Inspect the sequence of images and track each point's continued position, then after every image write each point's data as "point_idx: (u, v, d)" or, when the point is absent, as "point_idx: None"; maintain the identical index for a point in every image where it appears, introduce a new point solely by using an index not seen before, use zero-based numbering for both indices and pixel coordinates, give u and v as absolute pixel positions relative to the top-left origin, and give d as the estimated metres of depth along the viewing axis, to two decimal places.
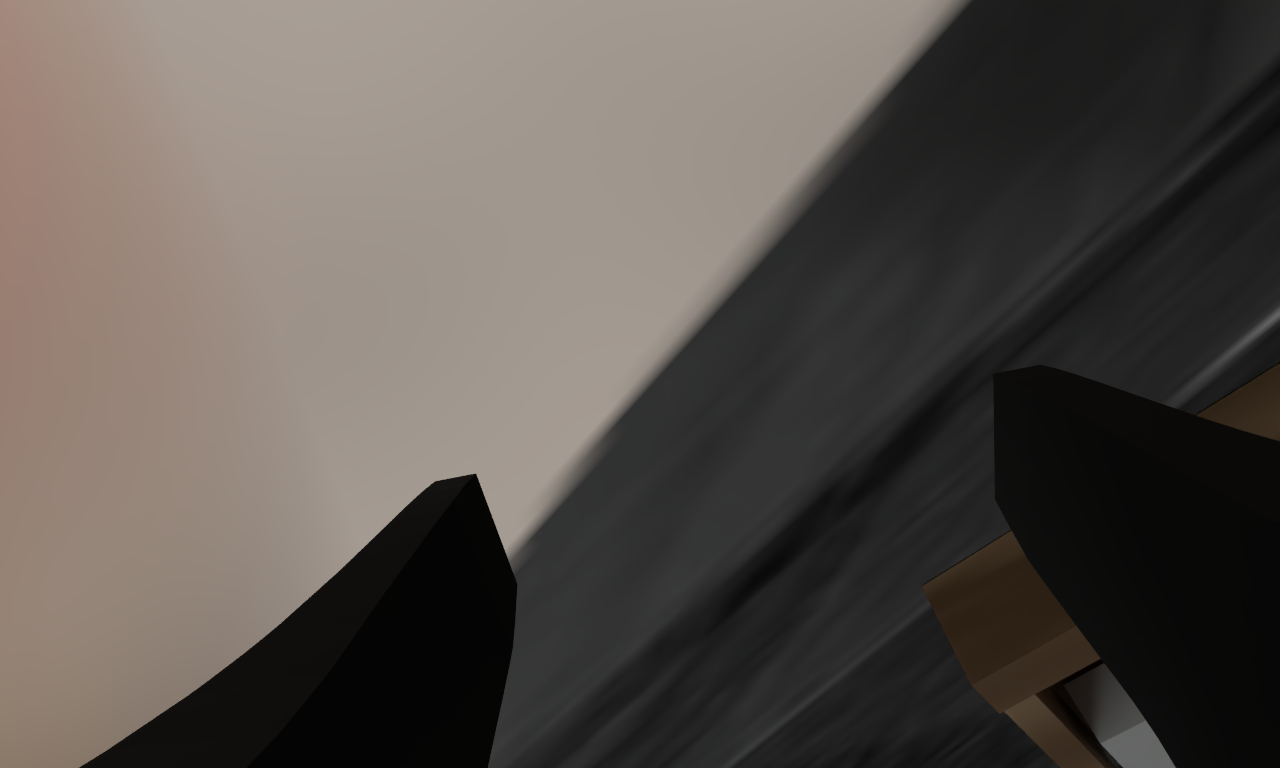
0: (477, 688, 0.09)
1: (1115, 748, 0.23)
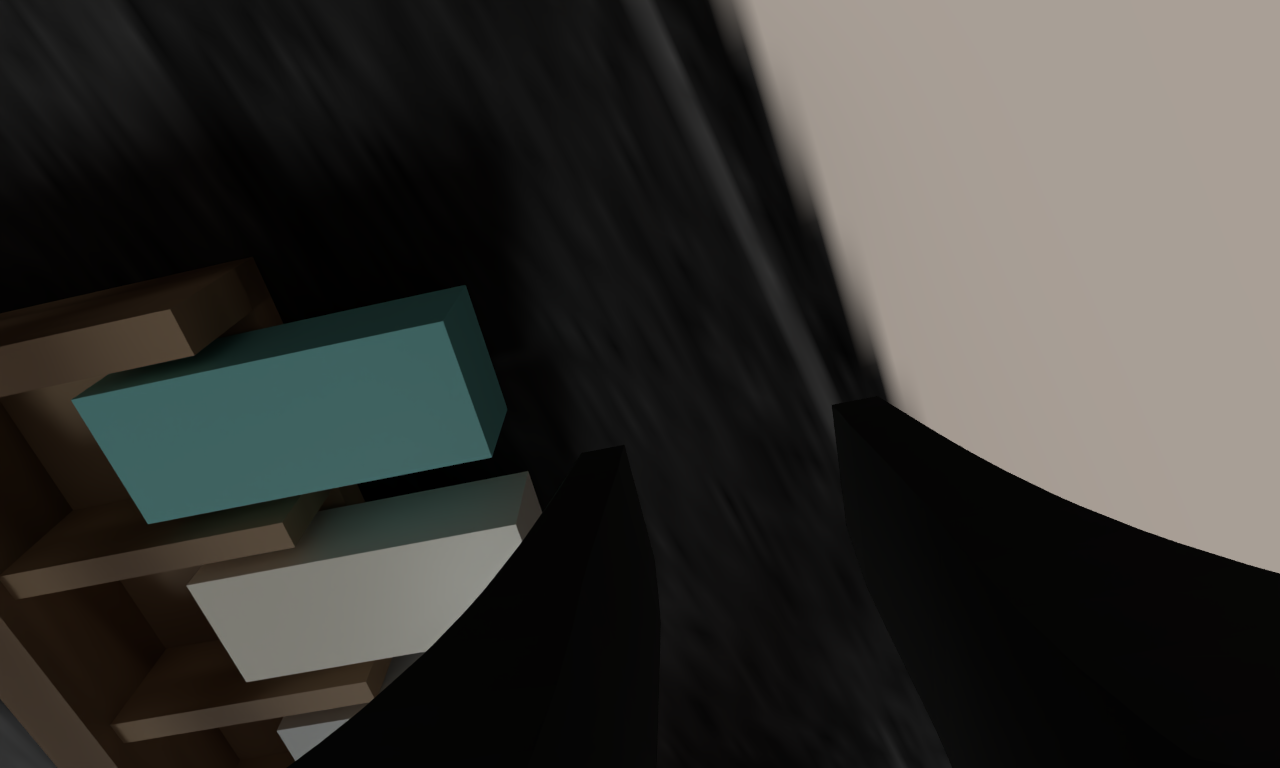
0: (645, 660, 0.09)
1: None
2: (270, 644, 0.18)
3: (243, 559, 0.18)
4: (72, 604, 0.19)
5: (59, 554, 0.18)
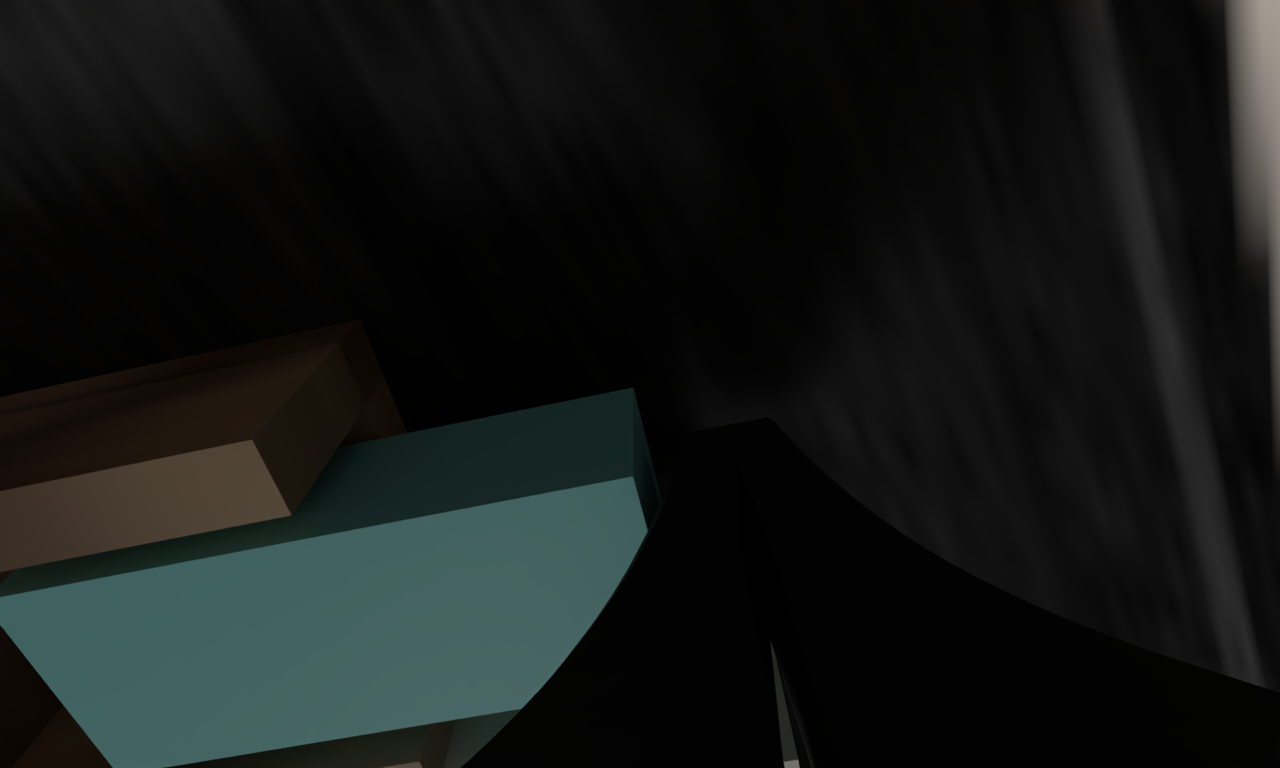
0: (766, 640, 0.09)
1: None
2: None
3: None
4: None
5: None
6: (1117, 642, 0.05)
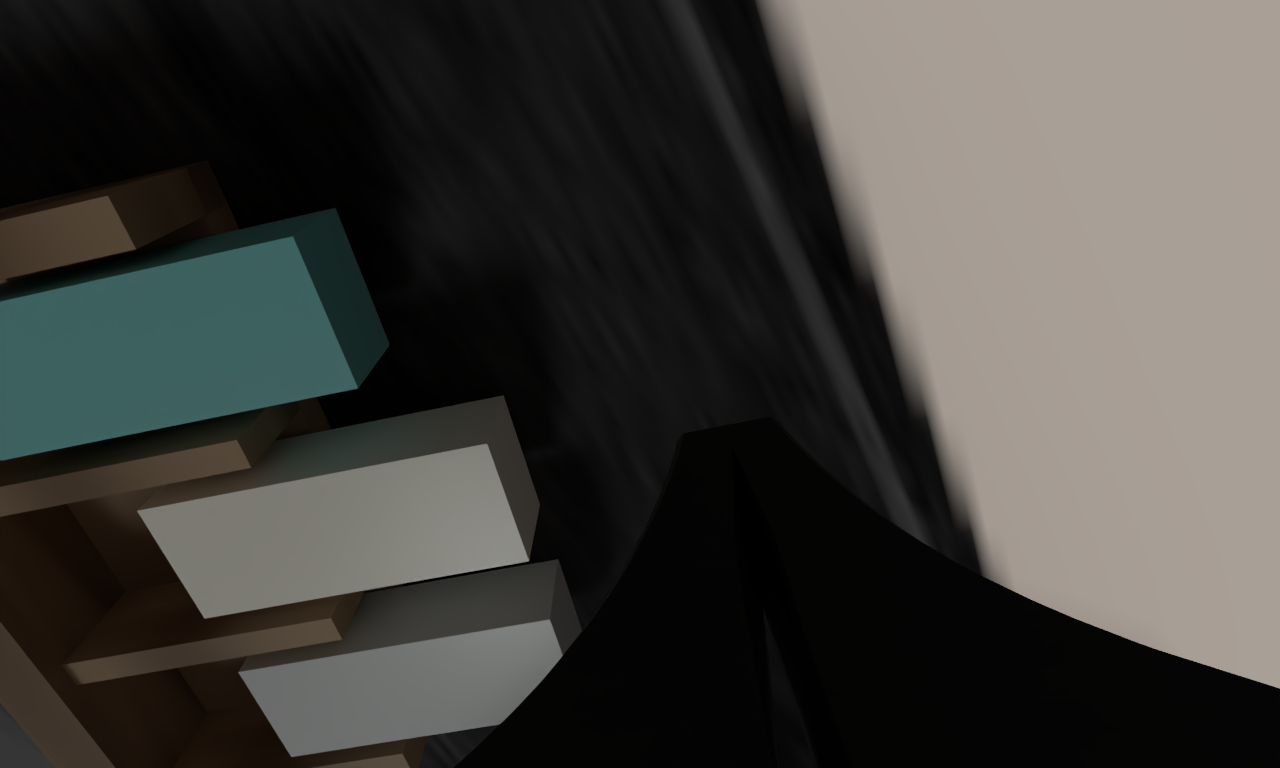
0: (762, 640, 0.09)
1: (305, 748, 0.20)
2: (228, 576, 0.17)
3: (199, 485, 0.17)
4: (20, 536, 0.18)
5: (1, 477, 0.17)
6: (1123, 640, 0.05)
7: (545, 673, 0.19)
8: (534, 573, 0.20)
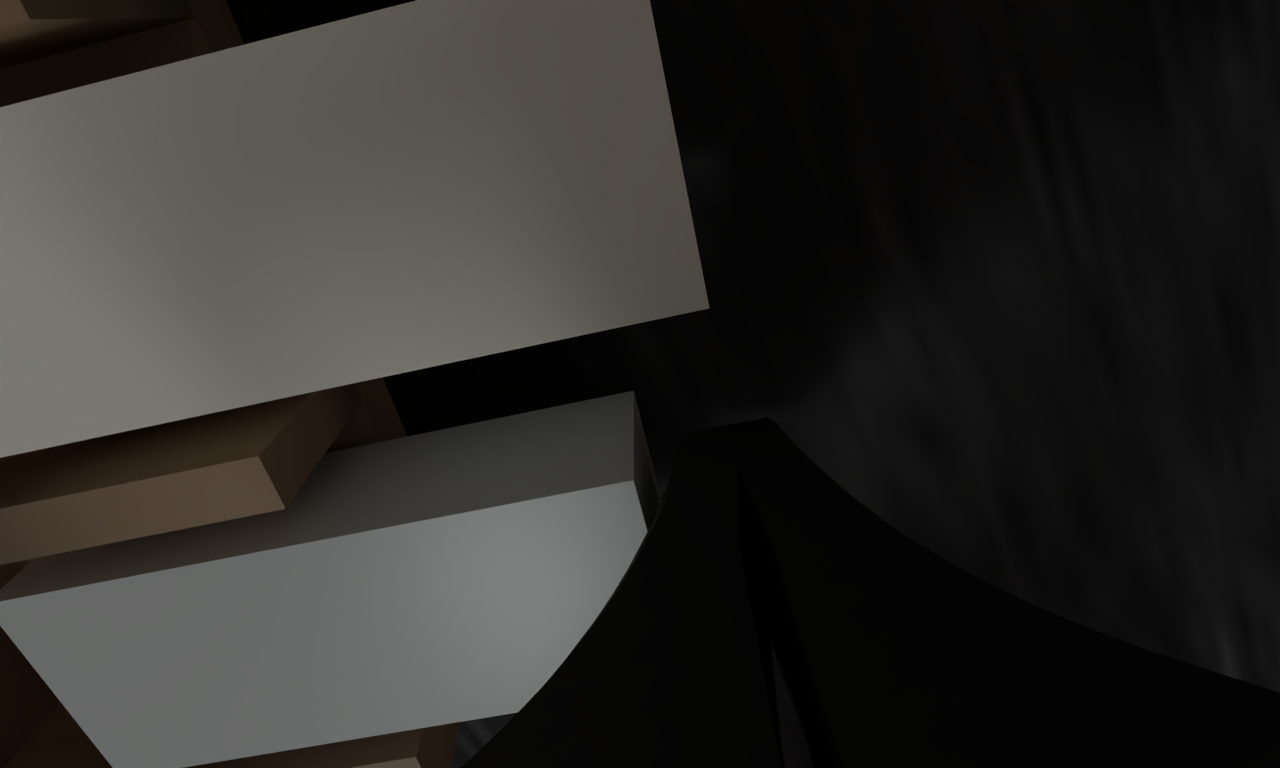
0: (766, 640, 0.09)
1: (145, 762, 0.10)
2: (21, 354, 0.08)
3: None
4: None
5: None
6: (1117, 642, 0.05)
7: None
8: (589, 413, 0.10)
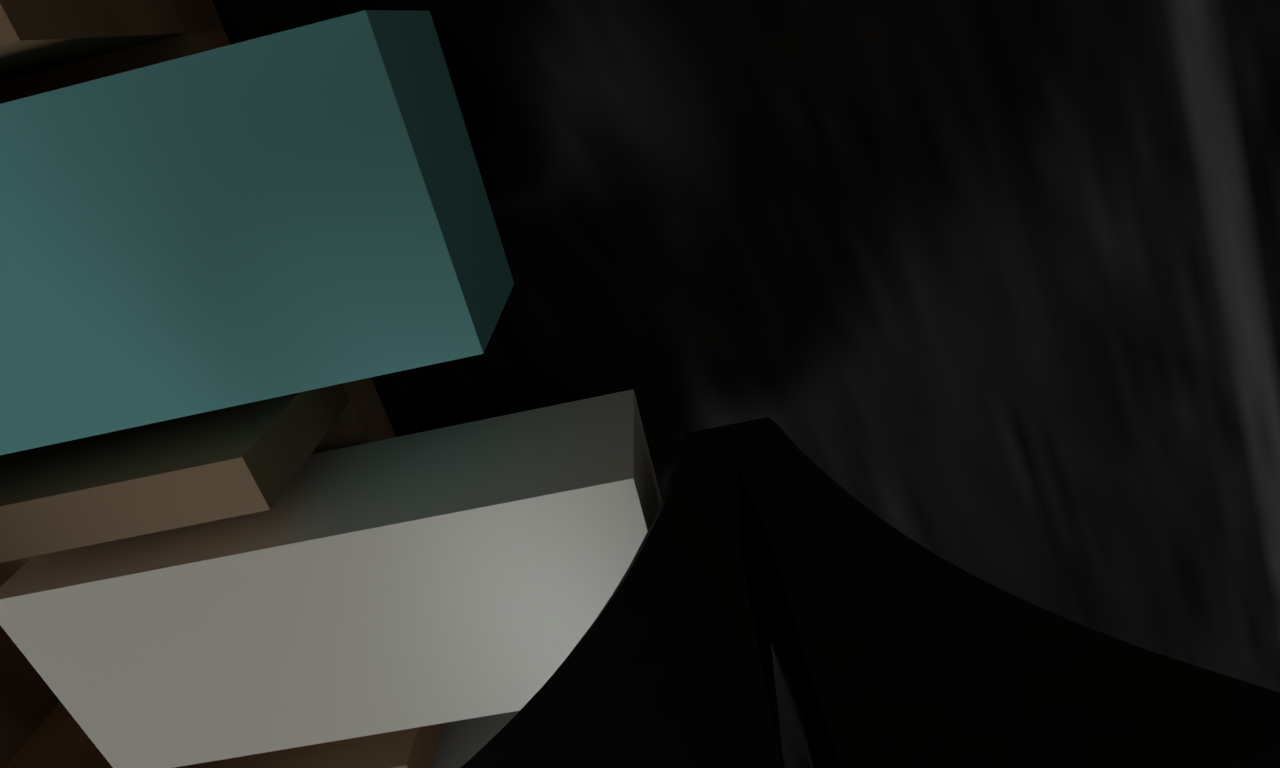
0: (765, 640, 0.09)
1: None
2: (157, 710, 0.10)
3: (103, 552, 0.10)
4: None
5: None
6: (1119, 643, 0.05)
7: None
8: None
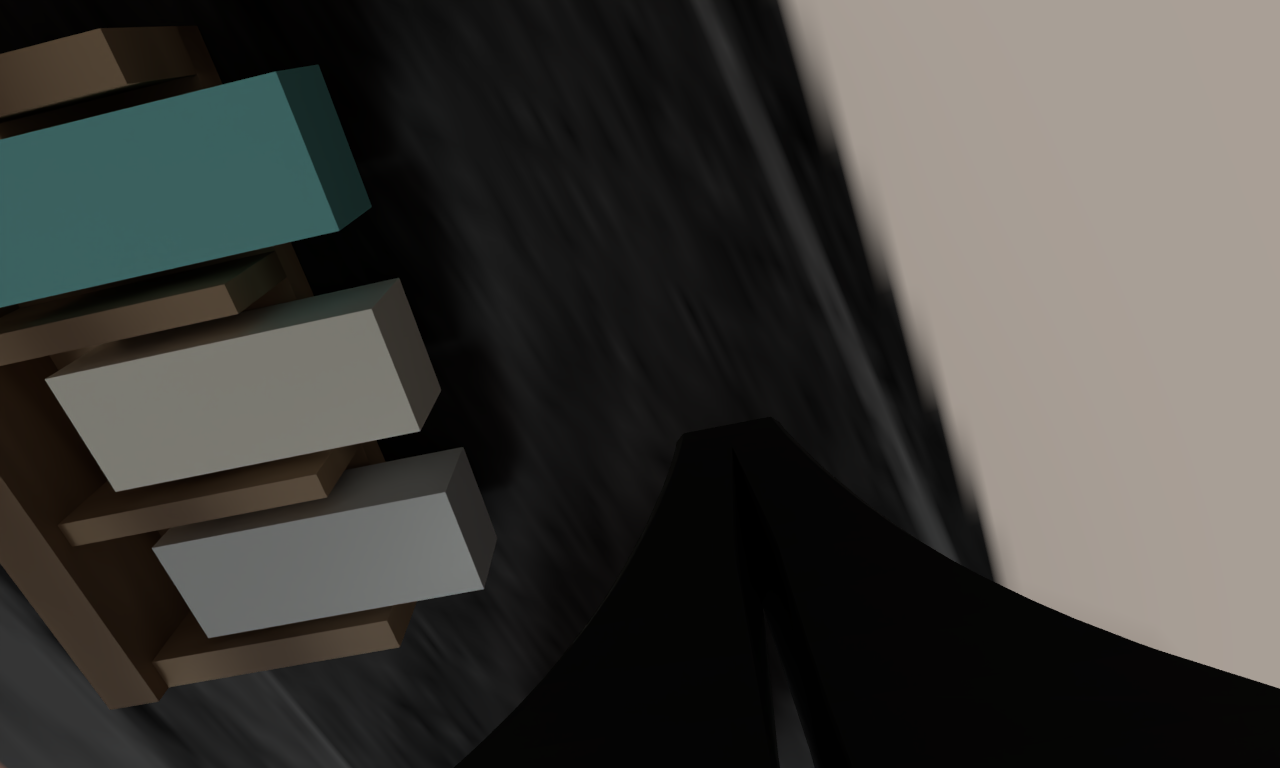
0: (762, 641, 0.09)
1: (221, 629, 0.21)
2: (136, 448, 0.18)
3: (106, 358, 0.18)
4: (17, 398, 0.19)
5: (0, 329, 0.17)
6: (1123, 642, 0.05)
7: (445, 548, 0.20)
8: (438, 458, 0.21)
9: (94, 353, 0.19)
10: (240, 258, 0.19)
